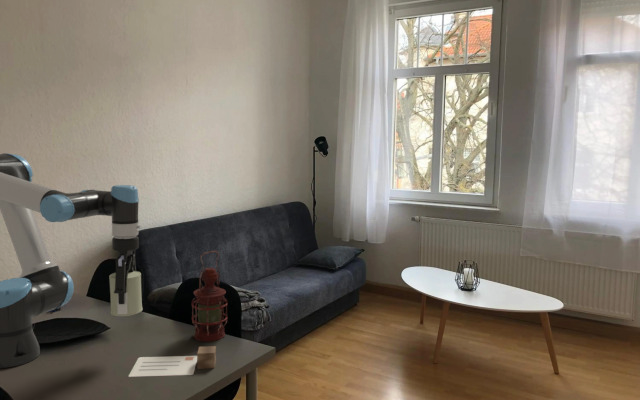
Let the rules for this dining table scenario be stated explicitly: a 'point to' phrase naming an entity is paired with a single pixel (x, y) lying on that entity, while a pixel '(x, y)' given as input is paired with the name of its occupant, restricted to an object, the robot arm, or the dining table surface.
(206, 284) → the lantern
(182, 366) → the letter
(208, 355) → the block
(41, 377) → the dining table surface
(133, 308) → the can
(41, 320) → the dining table surface
